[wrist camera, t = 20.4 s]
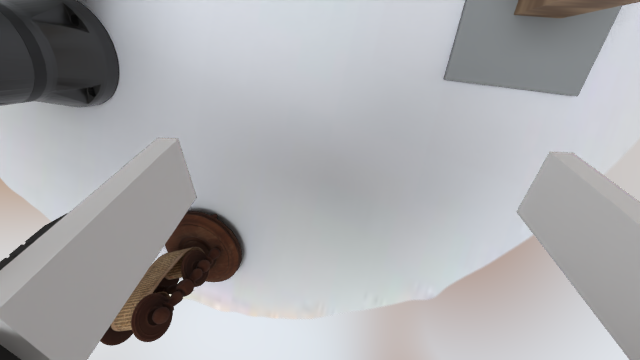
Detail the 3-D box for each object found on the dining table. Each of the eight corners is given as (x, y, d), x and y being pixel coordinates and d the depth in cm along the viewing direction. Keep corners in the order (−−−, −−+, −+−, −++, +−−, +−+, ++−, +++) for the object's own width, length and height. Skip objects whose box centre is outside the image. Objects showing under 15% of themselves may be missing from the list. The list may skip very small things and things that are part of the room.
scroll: (221, 198, 47) (122, 284, 30) (258, 266, 52) (192, 376, 34) (159, 216, 52) (41, 300, 34) (198, 277, 57) (112, 379, 39)
